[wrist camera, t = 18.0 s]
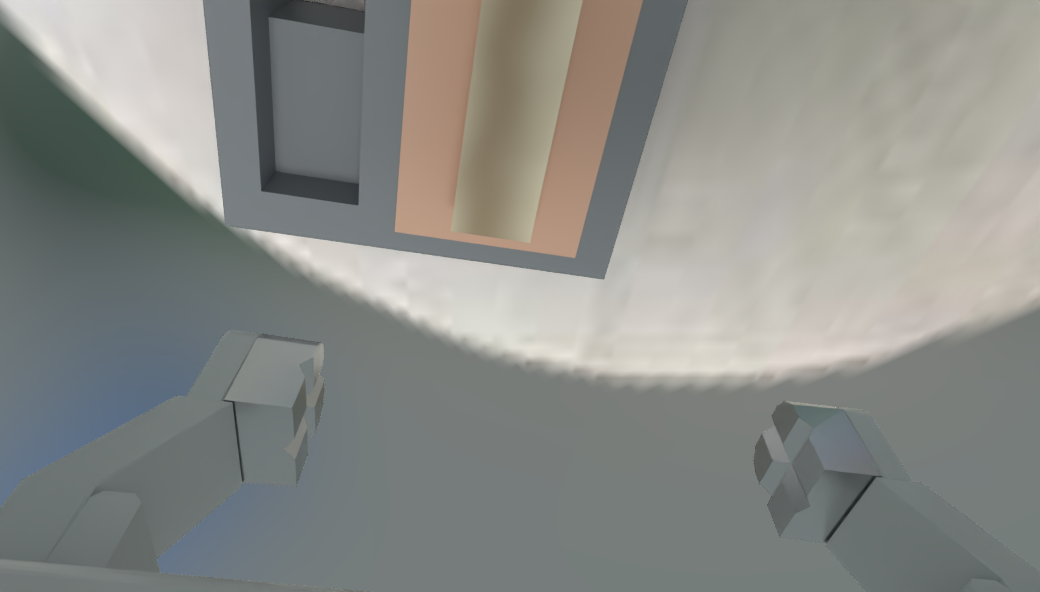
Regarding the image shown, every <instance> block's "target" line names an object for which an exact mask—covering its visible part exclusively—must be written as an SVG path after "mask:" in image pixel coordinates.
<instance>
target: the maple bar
mask: <svg viewBox="0 0 1040 592" xmlns="http://www.w3.org/2000/svg"><path fill="white" fill-rule="evenodd" d="M582 2H583V0H482V2H481V10H480V17H479V24H478V32H477V39H476V47H475V54H474V62H473V69H472V77H471V84H470V91H469V99H468V106H467V114H466V121H465V129H464V136H463V144H462V151H461V158H460V166H459V173H458V181H457V188H456V196H455V203H454V210H453V218H452V225H451V231H453V232H460V233H466V234H473V235H480V236H486V237H493V238H500V239H506V240H513V241H520V242H526V243H530V241H531V236H532V231H533V227H534V222H535V218H536V213H537V208H538V204H539V199H540V195H541V190H542V186H543V181H544V176H545V172H546V167H547V163H548V158H549V153H550V149H551V144H552V140H553V135H554V130H555V126H556V121H557V117H558V112H559V108H560V103H561V98H562V94H563V89H564V85H565V80H566V75H567V71H568V66H569V62H570V57H571V52H572V48H573V43H574V39H575V34H576V29H577V25H578V20H579V16H580V11H581V7H582Z"/></svg>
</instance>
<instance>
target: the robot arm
mask: <svg viewBox="0 0 1040 592" xmlns="http://www.w3.org/2000/svg"><path fill="white" fill-rule="evenodd" d="M323 362H324V348H323V344H322V343H321V342H315V341H308V340H301V339H294V338H288V337H281V336H275V335H268V334H258V333H251V332H244V331H237V330H230V331H228V332H227V333H225V334H224V335H223V337H222V338H221V340H220V342H219V344H218V345H217V347H216V348H215V350H214V352H213V353H212V355H211V357H210V358H209V360H208V362H207V363H206V365H205V366H204V368H203V370H202V371H201V373H200V375H199V376H198V378H197V379H196V381H195V383H194V384H193V386H192V388H191V389H190V391H189V393H188V394H187V396H186V397H182V396H176V397H173V398H172V399H170V400H168V401H166V402H164V403H162V404H160V405H159V406H157V407H155V408H153V409H151V410H149V411H148V412H146V413H144V414H142V415H140V416H138V417H136V418H135V419H133V420H131V421H129V422H127V423H125V424H124V425H122V426H120V427H118V428H116V429H114V430H113V431H111V432H109V433H107V434H105V435H103V436H101V437H100V438H98V439H96V440H94V441H92V442H90V443H89V444H87V445H85V446H83V447H81V448H79V449H78V450H76V451H74V452H72V453H70V454H68V455H67V456H65V457H63V458H61V459H59V460H57V461H55V462H54V463H52V464H50V465H48V466H46V467H44V468H43V469H41V470H39V471H37V472H35V473H33V474H31V475H30V476H28V477H26V478H24V479H22V481H21V482H20V483H19V485H18V486H17V487H16V488H15V490H14V491H13V492H12V493H11V495H10V496H9V497H8V498H7V500H6V501H5V502H4V504H3V505H2V506H1V507H0V592H368V591H358V590H357V591H356V590H346V589H335V588H323V587H313V586H302V585H291V584H279V583H269V582H258V581H247V580H234V579H224V578H213V577H202V576H191V575H180V574H168V573H160V570H159V565H158V562H157V559H158V558H159V557H160V556H161V555H162V554H163V553H165V552H166V551H167V550H168V549H169V548H170V547H172V546H173V545H174V544H175V543H176V542H177V541H179V540H180V539H181V538H182V537H183V536H184V535H185V534H187V533H188V532H189V531H190V530H191V529H192V528H194V527H195V526H196V525H197V524H198V523H199V522H201V521H202V520H203V519H204V518H205V517H206V516H208V515H209V514H210V513H211V512H212V511H213V510H215V509H216V508H217V507H218V506H219V505H220V504H222V503H223V502H224V501H225V500H226V499H227V498H229V497H230V496H231V495H232V494H233V493H234V492H236V491H237V490H238V489H239V488H240V487H241V486H242V482H243V483H256V484H269V485H281V486H294V487H295V486H297V484H298V481H299V478H300V475H301V472H302V470H303V467H304V464H305V461H306V458H307V456H308V438H310V437H311V436H313V435H314V434H315V433H316V429H317V426H318V423H319V420H320V416H321V411H322V406H323V399H324V379H323V378H322V377H321V376H320V375H319V373H320V370H321V368H322V365H323ZM772 419H773V422H774V425H775V426H773V427H771V428H770V429H768V430H766V431H765V432H763V433H762V434H761V436H760V438H759V440H758V442H757V444H756V446H755V453H754V468H755V473H756V476H757V479H758V481H759V484H760V485H761V486H762V487H763V488H764V489H765V490H767V492H768V493H769V494H770V495H771V497H770V500H769V502H768V504H767V506H768V508H769V511H770V514H771V516H772V519H773V521H774V524H775V527H776V529H777V532H778V534H779V537H781V538H789V539H796V540H804V541H811V542H819V543H826V545H825V546H826V548H827V549H828V550H829V551H830V552H831V553H832V554H833V555H834V556H835V557H836V559H837V560H838V561H839V562H840V563H841V564H842V565H843V566H844V568H845V569H846V570H847V571H848V572H849V573H850V574H851V575H852V576H853V578H854V579H855V580H856V581H857V582H858V583H859V584H860V585H861V586H862V588H863V589H864V590H865V591H866V592H1040V572H1039V571H1038V570H1037V569H1036V568H1034V567H1033V566H1031V565H1030V564H1029V563H1028V562H1026V561H1025V560H1024V559H1022V558H1021V557H1020V556H1018V555H1017V554H1016V553H1014V552H1013V551H1012V550H1010V549H1009V548H1008V547H1006V546H1005V545H1004V544H1003V543H1001V542H1000V541H998V540H997V539H996V538H994V537H993V536H992V535H991V534H989V533H988V532H987V531H985V530H984V529H983V528H981V527H980V526H979V525H977V524H976V523H975V522H973V521H972V520H971V519H969V518H968V517H967V516H965V515H964V514H963V513H961V512H960V511H959V510H957V509H956V508H955V507H953V506H952V505H951V504H949V503H948V502H947V501H945V500H944V499H942V498H941V497H940V496H939V495H937V494H936V493H935V492H933V491H932V490H931V489H929V488H928V487H927V486H925V485H924V484H923V483H921V482H914V481H912V479H911V478H910V476H909V474H908V473H907V471H906V469H905V468H904V466H903V465H902V463H901V461H900V460H899V458H898V457H897V455H896V453H895V452H894V450H893V449H892V447H891V446H890V444H889V442H888V441H887V439H886V437H885V436H884V434H883V433H882V431H881V429H880V428H879V426H878V425H877V423H876V422H875V420H874V418H873V417H872V416H871V414H869V413H868V412H867V411H865V410H861V409H851V408H842V407H836V408H835V407H829V406H821V405H813V404H805V403H796V402H787V401H783V402H782V403H781V404H779V405H778V406H777V407H776V409H775V411H774V412H773V414H772Z"/></svg>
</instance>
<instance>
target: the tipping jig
mask: <svg viewBox="0 0 1040 592" xmlns="http://www.w3.org/2000/svg"><path fill="white" fill-rule="evenodd" d="M481 2H482V0H366V1H365V12H364V11H358V10H353V9H347V8H342V7H336V6H331V5H325V4H320V3H314V2H309V1H303V0H203V6H204V16H205V26H206V36H207V46H208V56H209V66H210V77H211V87H212V97H213V107H214V117H215V127H216V137H217V147H218V157H219V167H220V177H221V187H222V197H223V207H224V217H225V226H231V227H238V228H245V229H252V230H259V231H266V232H273V233H280V234H287V235H294V236H301V237H308V238H315V239H323V240H330V241H337V242H344V243H351V244H358V245H365V246H372V247H379V248H386V249H393V250H400V251H407V252H414V253H421V254H428V255H435V256H442V257H449V258H457V259H464V260H471V261H478V262H485V263H492V264H499V265H506V266H513V267H520V268H527V269H534V270H541V271H548V272H555V273H562V274H569V275H576V276H583V277H591V278H598V279H604V278H605V274H606V271H607V268H608V264H609V261H610V258H611V254H612V251H613V248H614V244H615V241H616V238H617V234H618V231H619V228H620V225H621V221H622V218H623V215H624V211H625V208H626V205H627V201H628V198H629V195H630V191H631V188H632V185H633V181H634V178H635V175H636V171H637V168H638V165H639V161H640V158H641V155H642V151H643V148H644V145H645V141H646V138H647V135H648V131H649V128H650V125H651V121H652V118H653V115H654V111H655V108H656V105H657V101H658V98H659V95H660V91H661V88H662V85H663V81H664V78H665V75H666V71H667V68H668V65H669V61H670V58H671V55H672V52H673V48H674V45H675V42H676V38H677V35H678V32H679V28H680V25H681V22H682V18H683V15H684V12H685V8H686V5H687V2H688V0H583V2H582V7H581V11H580V16H579V20H578V25H577V29H576V34H575V39H574V43H573V48H572V52H571V57H570V62H569V66H568V71H567V75H566V80H565V85H564V89H563V94H562V98H561V103H560V108H559V112H558V117H557V121H556V126H555V130H554V135H553V140H552V144H551V149H550V153H549V158H548V163H547V167H546V172H545V176H544V181H543V186H542V190H541V195H540V199H539V204H538V208H537V213H536V218H535V222H534V227H533V231H532V236H531V241H530V243H526V242H520V241H513V240H506V239H500V238H493V237H486V236H480V235H473V234H466V233H460V232H453V231H451V225H452V218H453V210H454V203H455V196H456V188H457V181H458V173H459V166H460V158H461V151H462V144H463V136H464V129H465V121H466V114H467V106H468V99H469V91H470V84H471V77H472V69H473V62H474V54H475V47H476V39H477V32H478V24H479V17H480V10H481Z"/></svg>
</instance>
